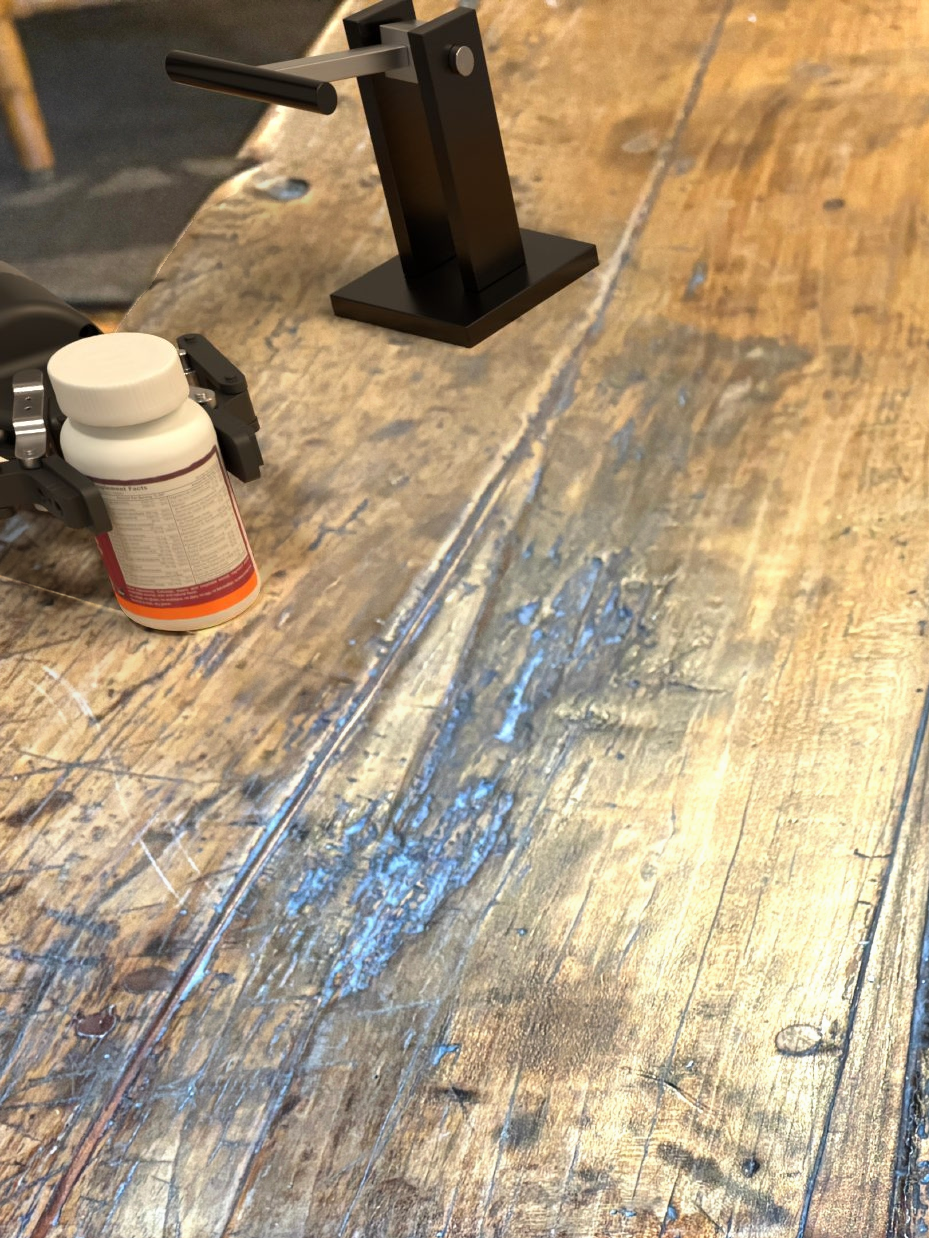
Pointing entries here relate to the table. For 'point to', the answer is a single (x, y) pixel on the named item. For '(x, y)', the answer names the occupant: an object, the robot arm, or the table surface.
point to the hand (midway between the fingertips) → (175, 485)
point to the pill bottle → (154, 482)
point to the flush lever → (299, 72)
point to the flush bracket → (448, 193)
